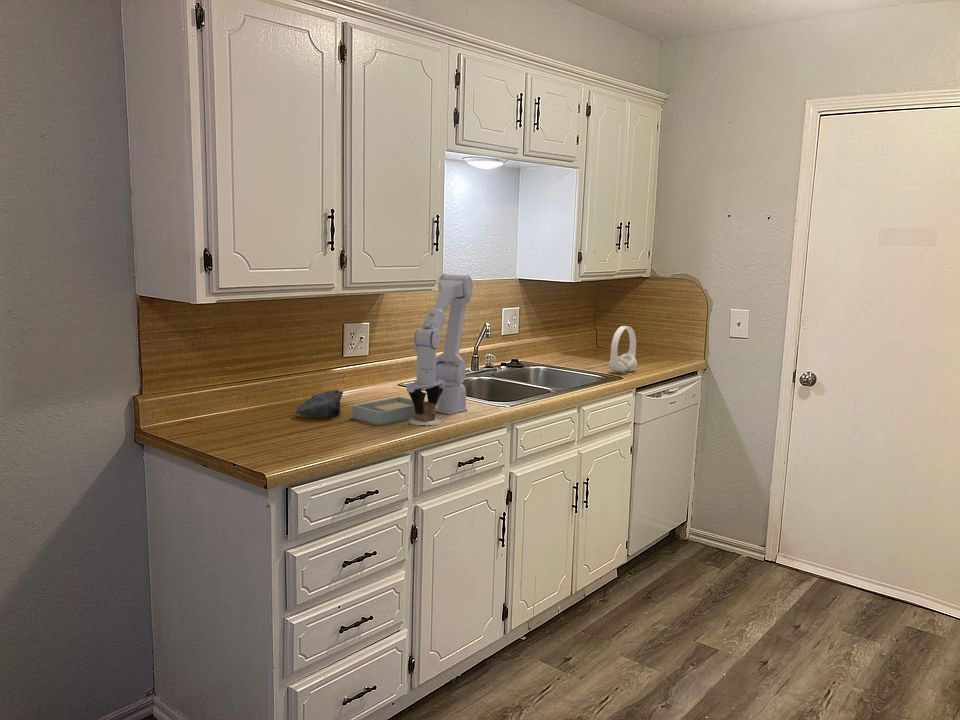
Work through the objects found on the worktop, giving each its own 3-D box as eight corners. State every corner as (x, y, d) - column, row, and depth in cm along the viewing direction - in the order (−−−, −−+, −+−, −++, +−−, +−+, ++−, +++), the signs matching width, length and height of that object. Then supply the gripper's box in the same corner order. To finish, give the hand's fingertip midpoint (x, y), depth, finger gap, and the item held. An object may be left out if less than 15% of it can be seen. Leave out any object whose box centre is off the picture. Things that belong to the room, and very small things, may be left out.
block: (424, 416, 239) (425, 401, 238) (434, 420, 236) (435, 404, 235) (413, 419, 236) (414, 403, 235) (424, 422, 233) (425, 406, 232)
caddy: (399, 408, 253) (399, 396, 252) (426, 415, 245) (427, 402, 244) (352, 418, 237) (352, 405, 237) (380, 425, 230) (380, 412, 229)
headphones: (639, 370, 340) (642, 325, 337) (620, 376, 325) (623, 328, 322) (623, 368, 344) (626, 323, 341) (603, 373, 330) (606, 327, 326)
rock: (352, 419, 237) (348, 405, 246) (344, 396, 234) (340, 383, 243) (303, 437, 235) (301, 422, 244) (294, 414, 231) (292, 400, 240)
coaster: (424, 416, 243) (424, 414, 243) (448, 422, 237) (448, 420, 237) (401, 421, 235) (401, 419, 235) (425, 427, 229) (425, 425, 229)
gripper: (432, 363, 241) (431, 406, 244) (399, 369, 230) (398, 413, 232) (449, 366, 237) (448, 410, 239) (416, 372, 226) (415, 417, 228)
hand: (425, 412), depth 236 cm, fingers open, 5 cm apart
